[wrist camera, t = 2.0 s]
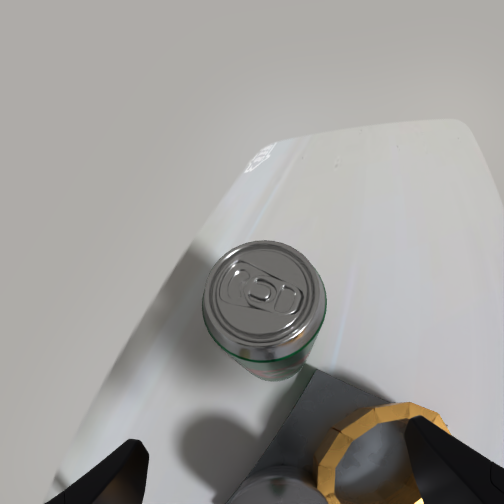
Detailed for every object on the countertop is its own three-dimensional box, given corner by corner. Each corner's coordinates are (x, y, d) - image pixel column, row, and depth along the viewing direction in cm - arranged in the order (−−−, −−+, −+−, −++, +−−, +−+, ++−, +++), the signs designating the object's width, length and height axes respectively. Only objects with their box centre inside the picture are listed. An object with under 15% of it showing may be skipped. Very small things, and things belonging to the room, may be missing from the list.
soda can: (256, 309, 23) (228, 218, 12) (317, 330, 21) (345, 252, 11) (230, 367, 21) (171, 325, 10) (293, 391, 19) (302, 379, 9)
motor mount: (353, 558, 10) (374, 603, 4) (221, 509, 15) (191, 548, 8) (441, 424, 16) (497, 424, 9) (315, 370, 20) (330, 354, 13)
